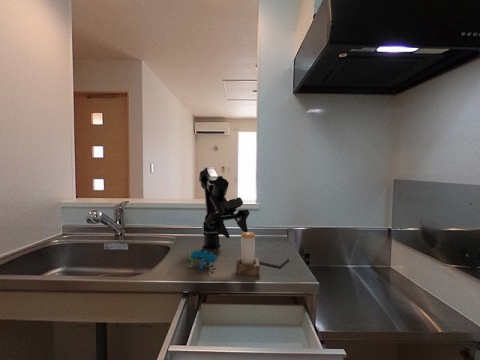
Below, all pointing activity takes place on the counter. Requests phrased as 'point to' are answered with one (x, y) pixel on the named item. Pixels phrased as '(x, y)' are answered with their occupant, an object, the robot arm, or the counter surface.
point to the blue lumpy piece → (202, 258)
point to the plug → (248, 248)
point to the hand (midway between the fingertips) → (238, 235)
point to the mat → (273, 260)
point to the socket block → (247, 268)
